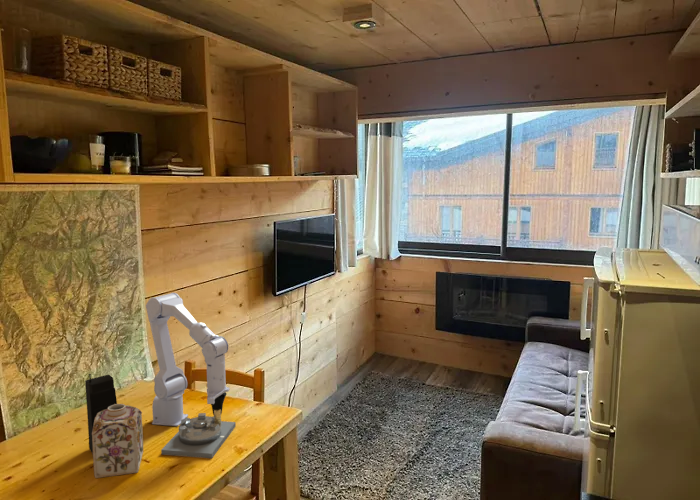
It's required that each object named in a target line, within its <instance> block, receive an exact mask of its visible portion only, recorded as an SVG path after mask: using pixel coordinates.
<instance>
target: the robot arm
mask: <svg viewBox="0 0 700 500" xmlns="http://www.w3.org/2000/svg"><path fill="white" fill-rule="evenodd" d="M145 310H146V314H147V317H148V318H147V319H148V322H149V324H150V330H151V334H152V339H153V344H154V348H155V349H154V350H155V354H156V359H157V365H158V368H159V370H158V372H157V374H156V375H155V376H154V378H153V380H154V387H153V388H154V389H153V390H154V394H155V396H154V398H153V401H152V404H151V405H152V407H151V409H152V422H151V424H152V425H157V426H171V427H172V426H173V427H179V426H180V425H181V420H182V419H184V418H185V417H186V418H188V417H189V414H188V413H184V402H183V400H184V398H183V394H185V390H186V389H187V388H188V380H187V377H186V376H185V374H184V370H183V369H182V368H180V367H178V366H177V364H176V360H175V355H174V349H173V345H172V339H171V336H170V330H169V327H168V326H169V325H168V321H169V320H170V318H171V317H173V318H175V319H176V320H178V322H180V324H181V325H183V326H184V327H186V328H187V329H188V331H189V332H188V333H189V337H190V338H191V339H193V341H194V342H195V343H196V344H197V345H198V346H199V347H200V348H201V354H202V355H203V357H204V362H205V364H206V381H207V382H206V387H207V388H206V394H207V396H206V399H207V401H206V402H207V405H211V409H212V415H213V416H214V409H216V408H220V409H221V415H222V413H223V408H224V407H223V406H224V401H225V399H226V396H227V393H228V392H229V391H230V389H231V388H230V386H229V387H227V383H226V382H227V381H226V354H227V352H228V351H229V342H228V341H227V339H226V338H225V337H224V336H222V335H220V336H219V335H218V334H215V333H214V332H213V331H212V330H211V329H210V328H209V327H208V326H207V324H205V322H202V321H201V322H198V320H197V319H195V318H194V316H193V315H192V314H191V312H190V311H189V310H188V309H187V308H186V307H185V306H184V300H183V298H182V297H180V295H179V294H178V293H177V292H171V293H168V294H162V295H160V296H156V297H150V298H149V299H148V301H147V302H146V304H145Z"/></svg>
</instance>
